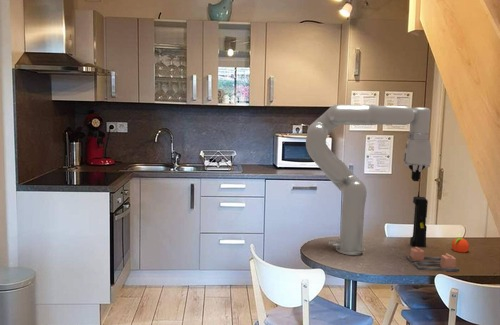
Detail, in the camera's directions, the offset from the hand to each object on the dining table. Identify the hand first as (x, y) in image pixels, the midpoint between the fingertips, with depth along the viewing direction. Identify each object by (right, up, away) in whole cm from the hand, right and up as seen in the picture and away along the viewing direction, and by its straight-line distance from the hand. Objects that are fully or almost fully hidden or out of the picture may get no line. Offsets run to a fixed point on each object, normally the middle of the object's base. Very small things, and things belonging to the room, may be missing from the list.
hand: (415, 180), depth 190 cm
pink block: (+6, -33, -16) cm, 37 cm away
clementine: (+22, -32, +8) cm, 40 cm away
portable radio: (+7, -31, +16) cm, 35 cm away
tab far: (-3, -32, -9) cm, 33 cm away
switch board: (+2, -34, -12) cm, 36 cm away
